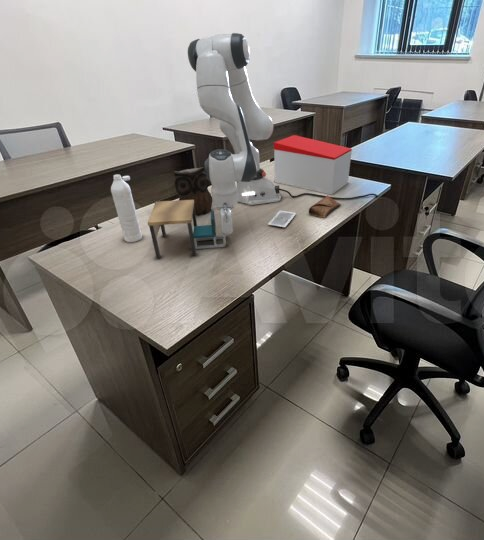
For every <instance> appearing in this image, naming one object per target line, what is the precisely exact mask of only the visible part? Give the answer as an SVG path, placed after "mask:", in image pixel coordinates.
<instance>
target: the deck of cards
mask: <svg viewBox="0 0 484 540" xmlns="http://www.w3.org/2000/svg"><path fill="white" fill-rule="evenodd" d="M296 215H297V212H293V211H286V210H278V212H277V213H276V214H275V215H274V216H273V218H271V220H270V221H268V223H267V225H268V226H269V225H270V226H274V227H280V228H281V227H282V228H286V227H287V226H288V225H289V224H290V222H291V221H292V220H293V219H294V217H295V216H296Z"/></svg>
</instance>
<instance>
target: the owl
mask: <svg viewBox="0 0 484 540" xmlns="http://www.w3.org/2000/svg"><path fill="white" fill-rule="evenodd" d="M173 176H174V184H173V185H174V188H175V189H174V190H175V191H176V193H177V196H178V200H194V207H195V214H196V217H197V216H201V215H206V214H208V213H209V212H211V211H212V206H213V203H212V194H211V191H209V189H208V188H209V186H210V181H209V180H208V179H207V178H206V169H205V166H203V167H196V168H190V169H189V168H187V169H183V170H180V171H173Z"/></svg>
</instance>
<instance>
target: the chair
mask: <svg viewBox="0 0 484 540" xmlns="http://www.w3.org/2000/svg"><path fill="white" fill-rule="evenodd" d="M216 226H217V225H216V216H215V210H211V211H210V225H209V224H206V225H197V226H194V225H193V237H194V243H195V250H202V249H203V250H204V249H216V248H225V247H226V245H227V240H226V239H227V238H226V236H227V235H226V234H223V233H222V232H221V233H222V234H221V235H217V229H216V228H217V227H216ZM217 240H222V241H223V243H217ZM199 241H213V244H202V245H198V242H199Z"/></svg>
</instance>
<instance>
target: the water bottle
mask: <svg viewBox="0 0 484 540" xmlns="http://www.w3.org/2000/svg"><path fill="white" fill-rule="evenodd" d="M130 180H131V176H130V175H124V176H122V175H121V174H118V173H117V174H114V175H113V181H112V184H111V186H110V193H111V196H112V200H113V203H114V207H115V210H116V214H117V219H118V221H119V224H120V228H121V233H122V236H123V239H124V241H125V242H127V243H135V242H138V241H140V240H141V239H142V238H143V234H142V231H141V226H140V222H139V218H138V214H137V210H136V206H135V202H134V198H133V194H132V190H131V186H130V185H129V183H127V182H128V181H130ZM126 181H127V182H126Z"/></svg>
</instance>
